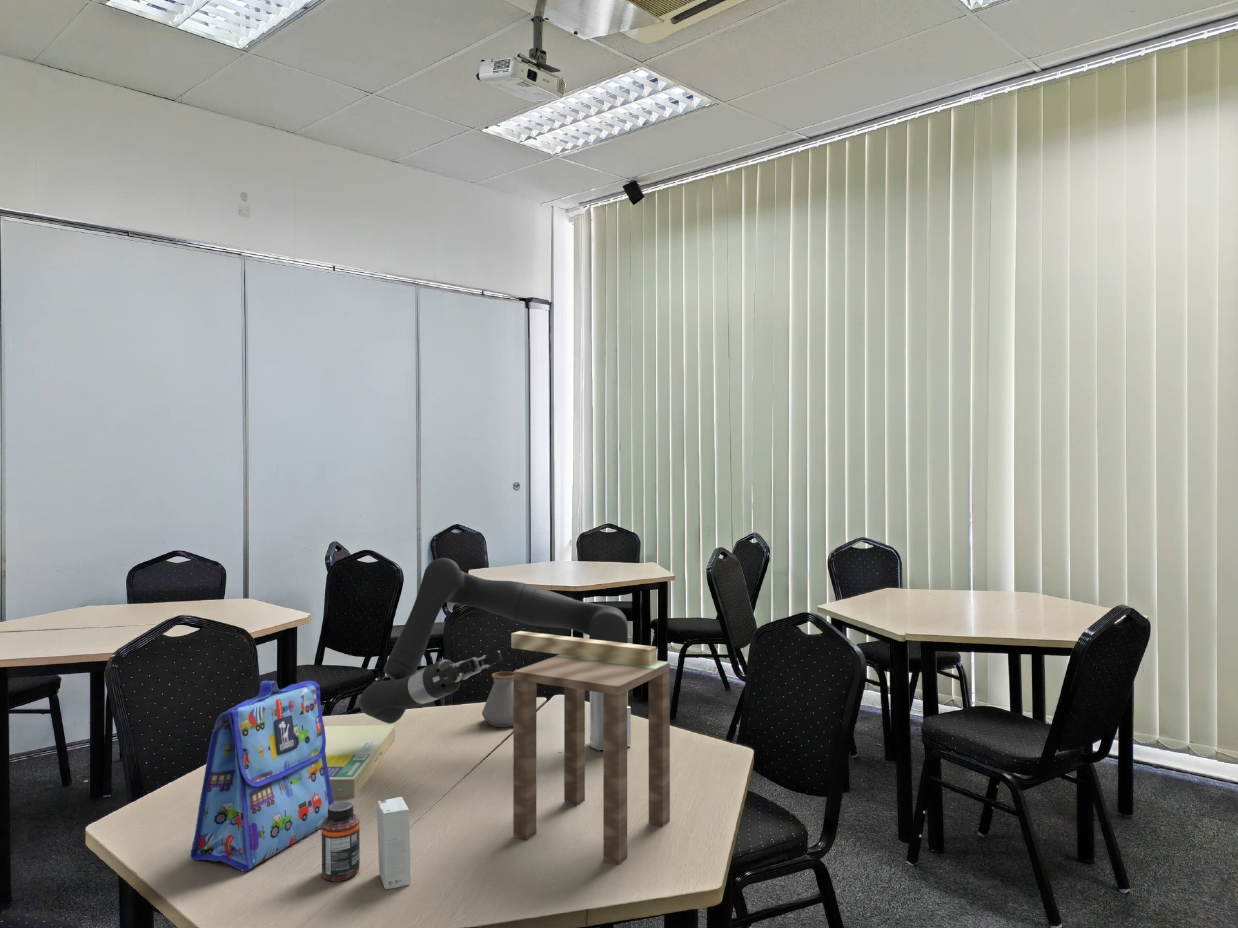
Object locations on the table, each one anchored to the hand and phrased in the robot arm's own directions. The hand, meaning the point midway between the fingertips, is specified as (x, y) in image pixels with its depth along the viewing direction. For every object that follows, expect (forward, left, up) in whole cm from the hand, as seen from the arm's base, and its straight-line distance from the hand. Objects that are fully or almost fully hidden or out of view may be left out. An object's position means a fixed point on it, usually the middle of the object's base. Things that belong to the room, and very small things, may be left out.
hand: (488, 658), depth 171 cm
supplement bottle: (+30, +29, -27) cm, 50 cm away
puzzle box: (+32, -24, -28) cm, 49 cm away
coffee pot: (-18, -40, -27) cm, 52 cm away
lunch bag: (+42, +11, -27) cm, 51 cm away
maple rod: (-15, +18, +3) cm, 23 cm away
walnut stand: (-14, +27, -27) cm, 41 cm away
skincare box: (+22, +34, -27) cm, 49 cm away
